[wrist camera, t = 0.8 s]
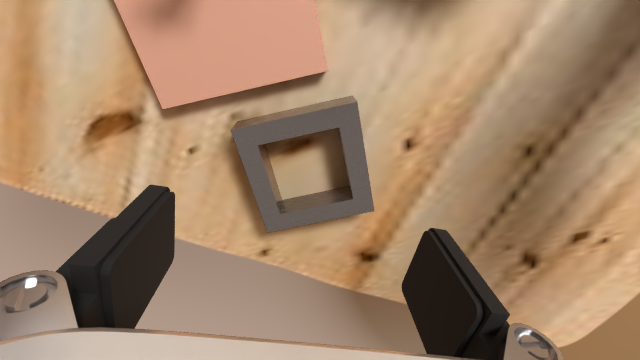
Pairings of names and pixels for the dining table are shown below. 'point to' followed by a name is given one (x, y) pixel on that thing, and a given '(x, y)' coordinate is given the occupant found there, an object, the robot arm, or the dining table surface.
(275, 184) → the grey square frame
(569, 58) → the dining table surface
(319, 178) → the dining table surface
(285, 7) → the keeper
